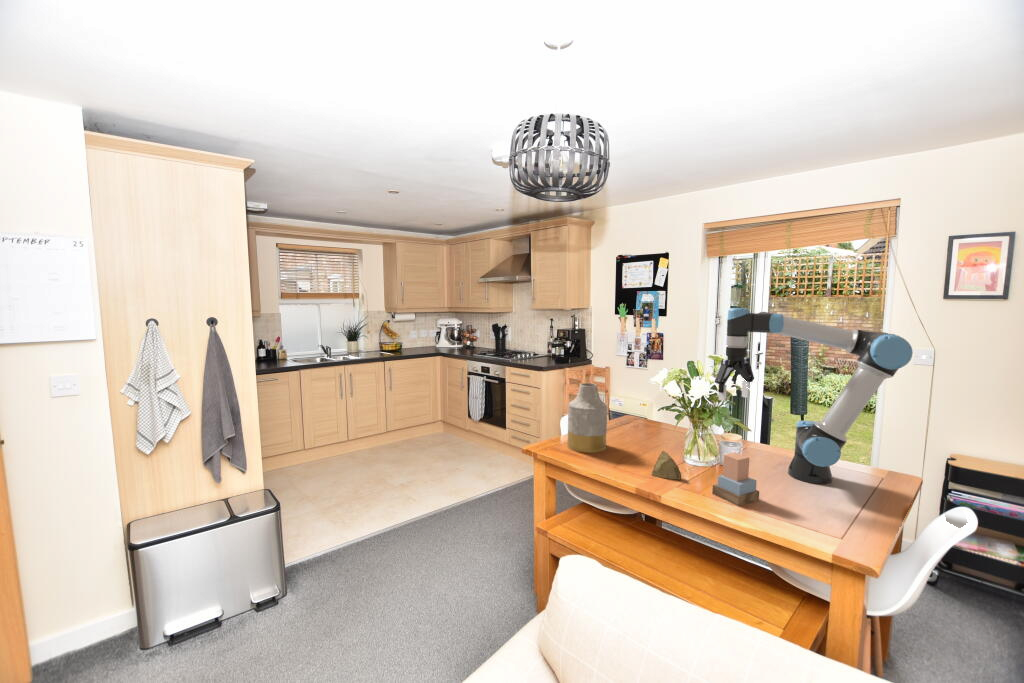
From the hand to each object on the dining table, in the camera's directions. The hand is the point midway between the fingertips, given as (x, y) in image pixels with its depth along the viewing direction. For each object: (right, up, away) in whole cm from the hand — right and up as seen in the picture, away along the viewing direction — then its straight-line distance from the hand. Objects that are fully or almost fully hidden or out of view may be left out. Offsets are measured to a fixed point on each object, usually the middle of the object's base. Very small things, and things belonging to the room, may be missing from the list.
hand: (733, 398), depth 188 cm
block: (-8, -27, -17) cm, 33 cm away
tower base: (-8, -35, -17) cm, 39 cm away
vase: (-54, -28, +37) cm, 71 cm away
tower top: (-7, -31, -18) cm, 36 cm away
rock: (-27, -32, +1) cm, 42 cm away
